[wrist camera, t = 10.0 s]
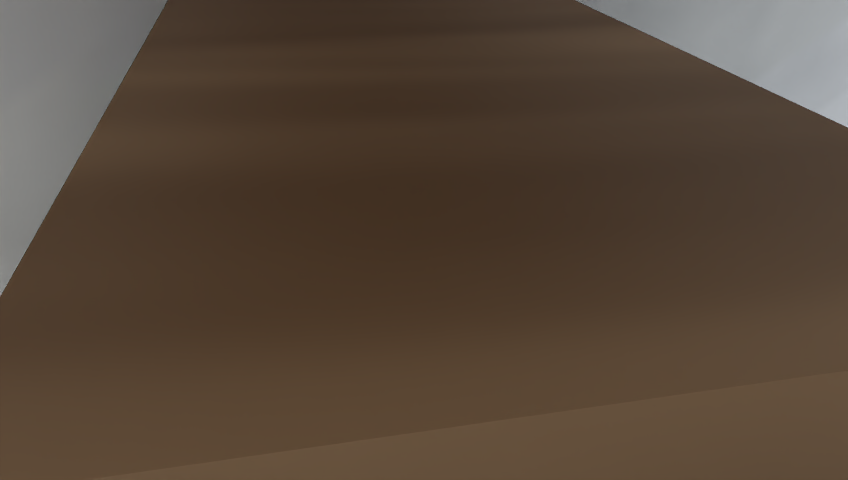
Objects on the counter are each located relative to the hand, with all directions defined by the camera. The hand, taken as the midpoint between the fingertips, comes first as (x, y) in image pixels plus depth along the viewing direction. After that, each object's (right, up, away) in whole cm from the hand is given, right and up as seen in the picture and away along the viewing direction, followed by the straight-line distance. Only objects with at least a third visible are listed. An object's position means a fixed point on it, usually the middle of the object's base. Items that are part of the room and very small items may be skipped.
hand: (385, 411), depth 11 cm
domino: (-1, +7, 0) cm, 7 cm away
